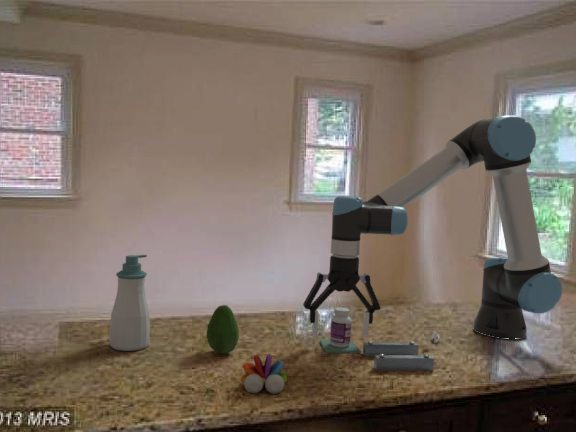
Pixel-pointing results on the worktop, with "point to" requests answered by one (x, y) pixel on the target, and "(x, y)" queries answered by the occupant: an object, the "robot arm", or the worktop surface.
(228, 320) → the avocado
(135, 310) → the soap bottle
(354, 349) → the pad
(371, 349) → the channel
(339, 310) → the pill bottle
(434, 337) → the adhesive hook
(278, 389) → the rainbow fan toy
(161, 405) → the worktop surface
